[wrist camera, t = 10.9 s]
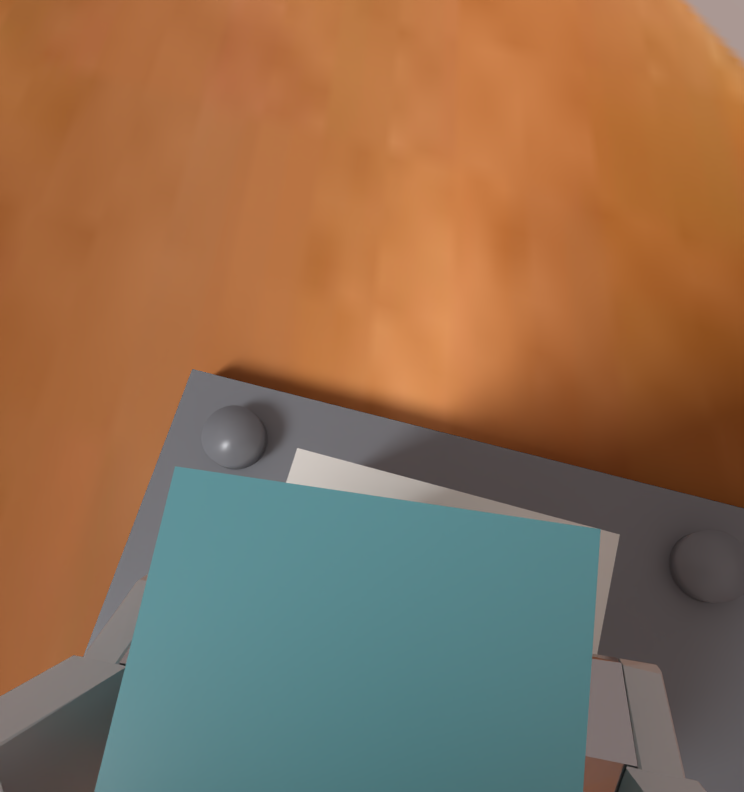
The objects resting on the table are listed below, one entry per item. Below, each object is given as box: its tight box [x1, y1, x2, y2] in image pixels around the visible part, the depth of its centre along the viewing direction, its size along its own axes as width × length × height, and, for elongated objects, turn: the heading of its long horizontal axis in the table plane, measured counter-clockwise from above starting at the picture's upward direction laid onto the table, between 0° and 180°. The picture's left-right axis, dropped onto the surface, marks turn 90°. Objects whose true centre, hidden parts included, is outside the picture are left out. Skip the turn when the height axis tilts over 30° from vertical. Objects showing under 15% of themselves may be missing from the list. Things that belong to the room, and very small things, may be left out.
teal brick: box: [94, 466, 601, 792], centre depth 10 cm, size 4×4×8 cm
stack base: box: [85, 369, 744, 792], centre depth 18 cm, size 13×20×6 cm, turn 74°
